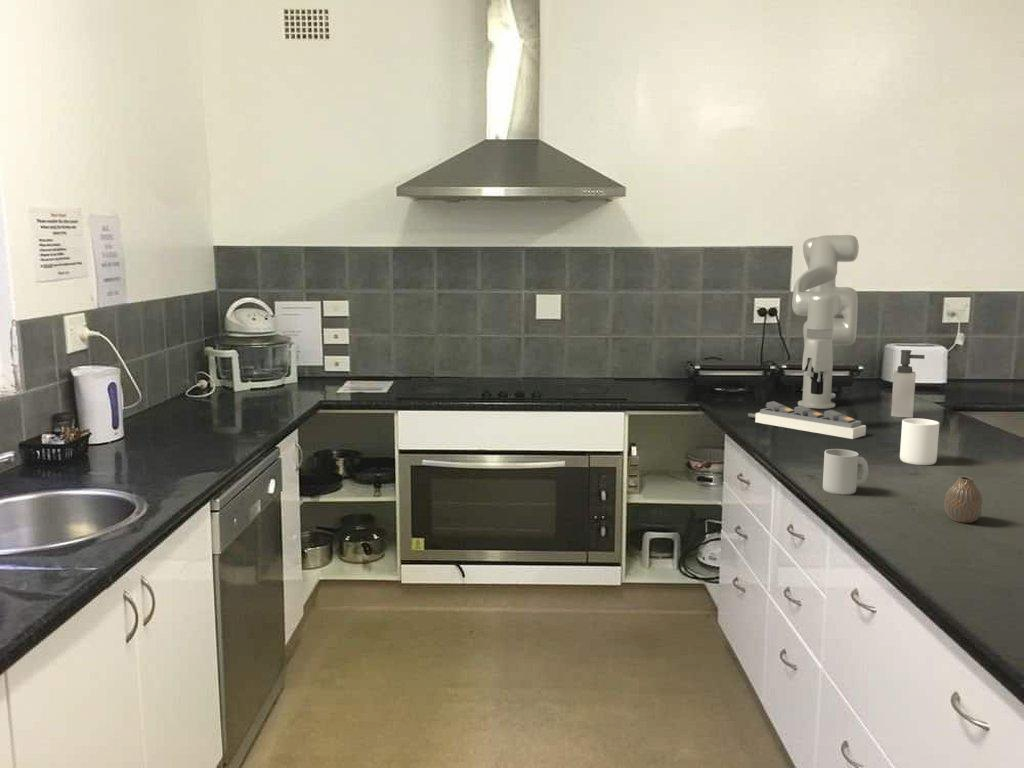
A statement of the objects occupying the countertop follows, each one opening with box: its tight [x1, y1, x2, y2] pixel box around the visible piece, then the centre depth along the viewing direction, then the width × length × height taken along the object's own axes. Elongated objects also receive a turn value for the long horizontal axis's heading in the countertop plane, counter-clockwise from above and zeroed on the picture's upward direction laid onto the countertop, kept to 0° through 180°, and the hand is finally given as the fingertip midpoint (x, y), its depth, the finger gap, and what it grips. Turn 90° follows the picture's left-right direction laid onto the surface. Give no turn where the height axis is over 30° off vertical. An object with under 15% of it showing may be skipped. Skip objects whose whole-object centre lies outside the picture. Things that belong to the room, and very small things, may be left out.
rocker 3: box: [823, 409, 856, 423], centre depth 240 cm, size 4×8×2 cm, turn 39°
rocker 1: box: [765, 400, 794, 413], centre depth 256 cm, size 4×8×2 cm, turn 39°
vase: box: [944, 476, 985, 524], centre depth 161 cm, size 7×7×9 cm
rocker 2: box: [793, 405, 824, 418], centre depth 248 cm, size 4×8×2 cm, turn 39°
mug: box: [899, 417, 940, 466], centre depth 208 cm, size 9×12×11 cm
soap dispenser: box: [890, 349, 926, 418], centre depth 266 cm, size 6×9×22 cm
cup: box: [822, 448, 869, 496], centre depth 182 cm, size 7×10×9 cm
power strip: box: [747, 407, 867, 440], centre depth 250 cm, size 8×38×4 cm, turn 39°
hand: (816, 393), depth 246 cm, fingers closed
